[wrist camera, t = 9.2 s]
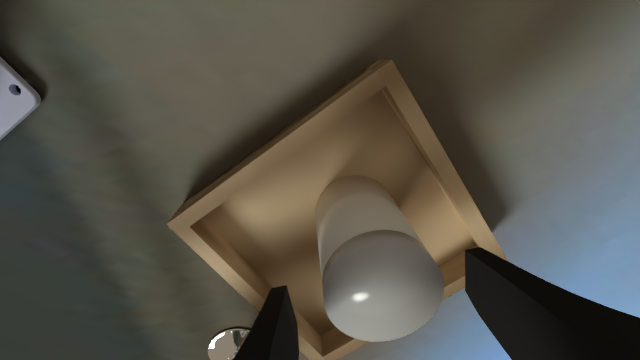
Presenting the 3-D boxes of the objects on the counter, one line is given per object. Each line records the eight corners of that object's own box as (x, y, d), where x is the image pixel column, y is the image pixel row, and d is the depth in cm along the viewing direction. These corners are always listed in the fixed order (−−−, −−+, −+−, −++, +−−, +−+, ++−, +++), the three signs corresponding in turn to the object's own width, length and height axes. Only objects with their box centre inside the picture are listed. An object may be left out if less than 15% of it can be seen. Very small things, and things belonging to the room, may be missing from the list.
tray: (183, 203, 18) (166, 224, 16) (378, 59, 16) (392, 59, 14) (317, 338, 23) (319, 369, 20) (484, 239, 21) (508, 262, 18)
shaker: (309, 181, 17) (316, 254, 11) (390, 169, 18) (445, 235, 11) (320, 250, 19) (331, 349, 13) (394, 239, 19) (443, 332, 13)
